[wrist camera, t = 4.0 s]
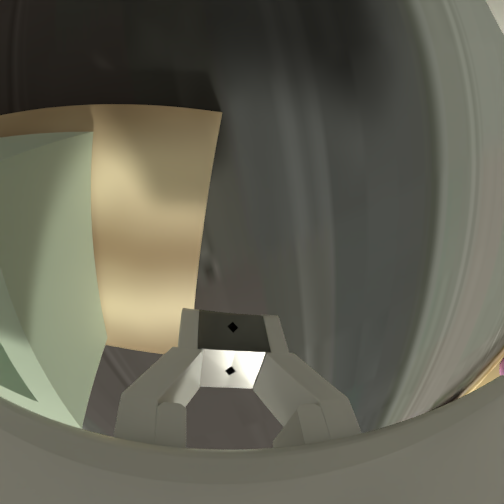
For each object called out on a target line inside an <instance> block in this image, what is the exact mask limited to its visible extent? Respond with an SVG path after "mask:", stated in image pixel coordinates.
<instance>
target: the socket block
mask: <svg viewBox="0 0 504 504" xmlns="http://www.w3.org/2000/svg"><path fill="white" fill-rule="evenodd" d="M92 143H93V132H55V133H39V134H27V135H17V136H8V137H1V138H0V396H1V397H3V398H4V399H6V400H8V401H11V402H13V403H15V404H17V405H19V406H21V407H23V408H26V409H28V410H30V411H33V412H35V413H37V414H40V415H42V416H45V417H48V418H50V419H53V420H56V421H59V422H61V423H64V424H67V425H71V426H74V427H77V428H80V429H82V425H83V421H84V416H85V412H86V408H87V404H88V400H89V396H90V393H91V389H92V386H93V382H94V379H95V375H96V372H97V369H98V365H99V362H100V359H101V356H102V353H103V350H104V347H105V344H106V341H107V338H108V337H107V333H106V328H105V324H104V319H103V314H102V308H101V302H100V297H99V290H98V283H97V276H96V268H95V259H94V249H93V237H92V220H91V159H92Z"/></svg>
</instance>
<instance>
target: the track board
mask: <svg viewBox="0 0 504 504" xmlns="http://www.w3.org/2000/svg"><path fill="white" fill-rule="evenodd" d="M221 117H222V112H216V111H208V110H200V109H192V108H182V107H170V106H156V105H133V104H97V105H75V106H62V107H51V108H42V109H35V110H28V111H21V112H15V113H10V114H5V115H0V138H1V137H8V136H17V135H27V134H39V133H55V132H93V143H92V159H91V220H92V237H93V249H94V259H95V268H96V276H97V283H98V290H99V297H100V302H101V308H102V314H103V319H104V324H105V328H106V333H107V337H108V338H107V341H106V344H105V345H110V346H115V347H121V348H126V349H132V350H139V351H145V352H152V353H159V354H165V353H166V352H167V351H168V350H170V349H171V348H172V347H178V339H179V330H180V321H181V313H182V309H183V308H188V309H194V303H195V293H196V283H197V274H198V265H199V256H200V248H201V240H202V233H203V225H204V218H205V211H206V204H207V197H208V191H209V185H210V178H211V172H212V166H213V160H214V155H215V149H216V143H217V138H218V133H219V127H220V122H221Z"/></svg>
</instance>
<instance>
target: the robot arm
mask: <svg viewBox="0 0 504 504" xmlns="http://www.w3.org/2000/svg"><path fill="white" fill-rule="evenodd" d="M485 1H486V2H487V4H488V6H489V8H490V10H491V12H492V14H493V16H494V17H495V19H496V21H497V23H498V25H499V27H500V29H501V30H502V32H503V34H504V0H485ZM199 386H202V387H230V388H253V390H254V392H255V393H256V394H257V395H258V397H259V398H260V399H261V400H262V402H263V403H264V404H265V405H266V406H267V408H268V409H269V410H270V411H271V412H272V414H273V415H274V416H275V417H276V418H277V420H278V421H279V422H280V423H281V424H282V425H283V429H282V430H281V431H280V433H279V434H278V435H277V437H276V438H275V439H274V441H273V442H272V443H273V448H263V449H234V450H224V449H196V448H186V408H185V407H186V405H187V404H188V403H189V401H190V400H191V399H192V397H193V396H194V394H195V393H196V392H197V390H198V389H199ZM0 504H504V375H501V376H499V377H498V378H496V379H494V380H493V381H491V382H489V383H487V384H486V385H484V386H482V387H480V388H479V389H477V390H475V391H473V392H471V393H469V394H467V395H465V396H463V397H461V398H459V399H457V400H455V401H453V402H450V403H448V404H446V405H444V406H441V407H439V408H437V409H434V410H432V411H429V412H427V413H424V414H422V415H419V416H416V417H414V418H411V419H408V420H405V421H402V422H399V423H396V424H393V425H390V426H387V427H383V428H380V429H376V430H373V431H369V432H365V433H361V430H360V427H359V425H358V422H357V420H356V417H355V414H354V412H353V409H352V407H351V404H350V402H349V399H348V398H347V397H346V396H345V395H344V394H342V393H341V392H340V391H339V390H337V389H336V388H335V387H334V386H332V385H331V384H330V383H329V382H328V381H326V380H325V379H324V378H323V377H322V376H320V375H319V374H318V373H317V372H316V371H314V370H313V369H312V368H311V367H310V366H308V365H307V364H306V363H305V362H304V361H303V360H301V359H300V358H299V357H298V356H297V355H296V354H294V353H289V350H288V346H287V343H286V340H285V336H284V333H283V330H282V326H281V323H280V320H279V317H278V316H277V315H250V314H235V313H224V312H215V311H206V310H196V309H188V308H183V309H182V313H181V321H180V330H179V339H178V347H172V348H171V349H170V350H168V351H167V352H166V353H165V354H164V355H163V356H162V357H161V358H160V359H159V360H158V361H157V362H156V363H154V364H153V365H152V366H151V367H150V368H149V369H148V370H147V371H146V372H145V373H144V374H143V375H141V376H140V377H139V378H138V379H137V380H136V381H135V382H134V383H133V384H132V385H131V386H129V387H128V388H127V389H126V390H125V391H124V392H123V393H122V394H121V399H120V404H119V409H118V414H117V419H116V425H115V431H114V437H111V436H107V435H103V434H99V433H95V432H91V431H87V430H84V429H80V428H77V427H74V426H71V425H67V424H64V423H61V422H59V421H56V420H53V419H50V418H48V417H45V416H42V415H40V414H37V413H35V412H33V411H30V410H28V409H26V408H23V407H21V406H19V405H17V404H15V403H12V402H10V401H8V400H6V399H4V398H2V397H0Z"/></svg>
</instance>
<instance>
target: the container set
mask: <svg viewBox="0 0 504 504" xmlns="http://www.w3.org/2000/svg"><path fill="white" fill-rule="evenodd" d="M500 375H504V358H503V360H502V361H501V363H500Z"/></svg>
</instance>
